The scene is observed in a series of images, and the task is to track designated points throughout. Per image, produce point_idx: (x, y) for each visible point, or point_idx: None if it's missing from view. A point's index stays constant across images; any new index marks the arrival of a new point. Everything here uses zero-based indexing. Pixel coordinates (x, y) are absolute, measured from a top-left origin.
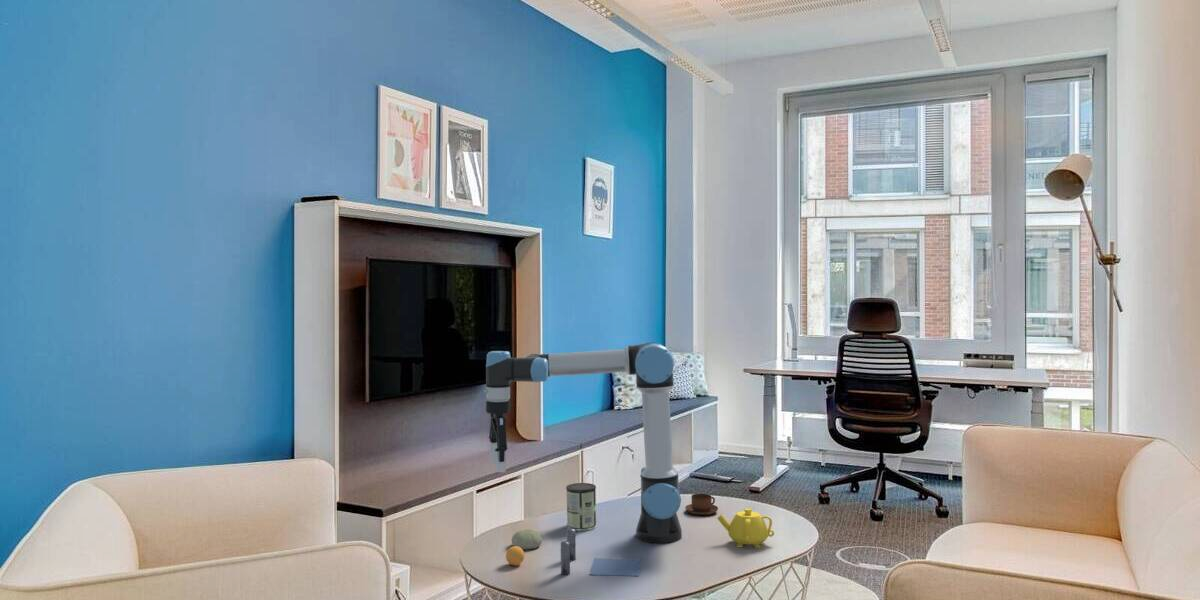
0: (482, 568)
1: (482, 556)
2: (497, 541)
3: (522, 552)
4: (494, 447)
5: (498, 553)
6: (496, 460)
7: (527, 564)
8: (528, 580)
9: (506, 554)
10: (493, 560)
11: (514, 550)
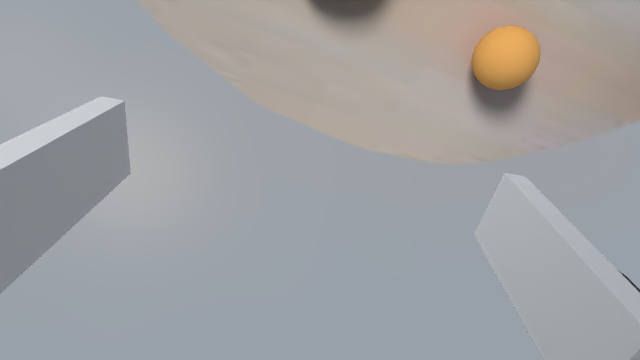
0: (455, 143)
1: (363, 111)
2: (244, 18)
3: (536, 41)
4: (10, 230)
5: (363, 60)
6: (114, 131)
7: (515, 14)
8: (633, 67)
9: (497, 89)
10: (414, 96)
11: (530, 73)
